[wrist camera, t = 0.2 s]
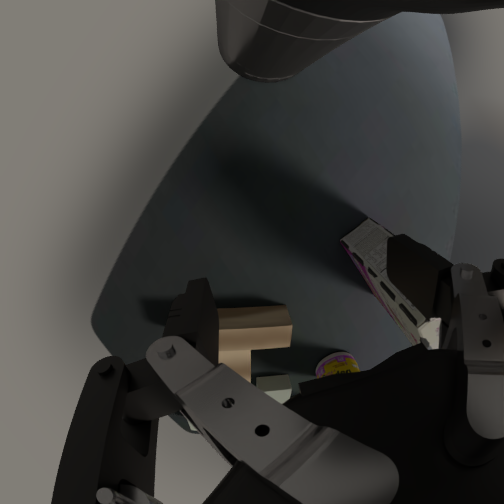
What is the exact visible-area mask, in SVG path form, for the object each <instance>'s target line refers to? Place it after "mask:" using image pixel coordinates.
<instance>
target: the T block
mask: <svg viewBox="0 0 504 504" xmlns="http://www.w3.org/2000/svg"><path fill="white" fill-rule="evenodd" d="M217 311H218V316H219V363H224V364H226V365H227V366H228V367H230V368H231V369H232V370H234V371H235V372H236V373H238V374H239V375H240V376H242V377H243V378H245V379H246V380H247V381H249V382H250V383H251V350H256V349H270V348H282V347H290V341H291V333H292V322H291V319H290V316H289V313H288V310H287V307H286V305H278V306H262V307H243V308H219V309H217Z"/></svg>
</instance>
